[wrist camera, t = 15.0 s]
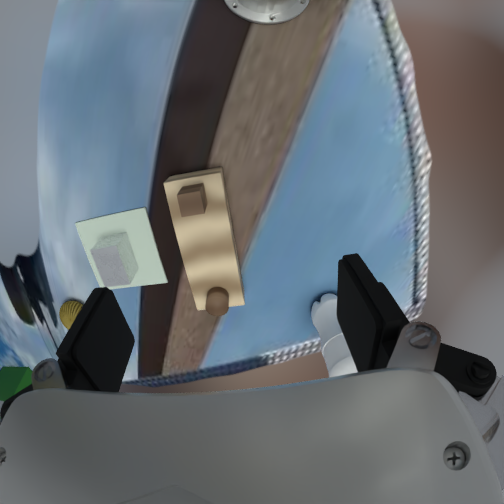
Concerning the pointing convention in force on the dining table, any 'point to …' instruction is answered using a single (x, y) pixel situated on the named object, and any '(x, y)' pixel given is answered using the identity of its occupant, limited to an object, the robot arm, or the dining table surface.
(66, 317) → the sculpture
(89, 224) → the mat
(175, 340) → the dining table surface
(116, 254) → the grey block
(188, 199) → the hand plane
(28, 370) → the hardback book
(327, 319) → the water bottle
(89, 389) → the robot arm
